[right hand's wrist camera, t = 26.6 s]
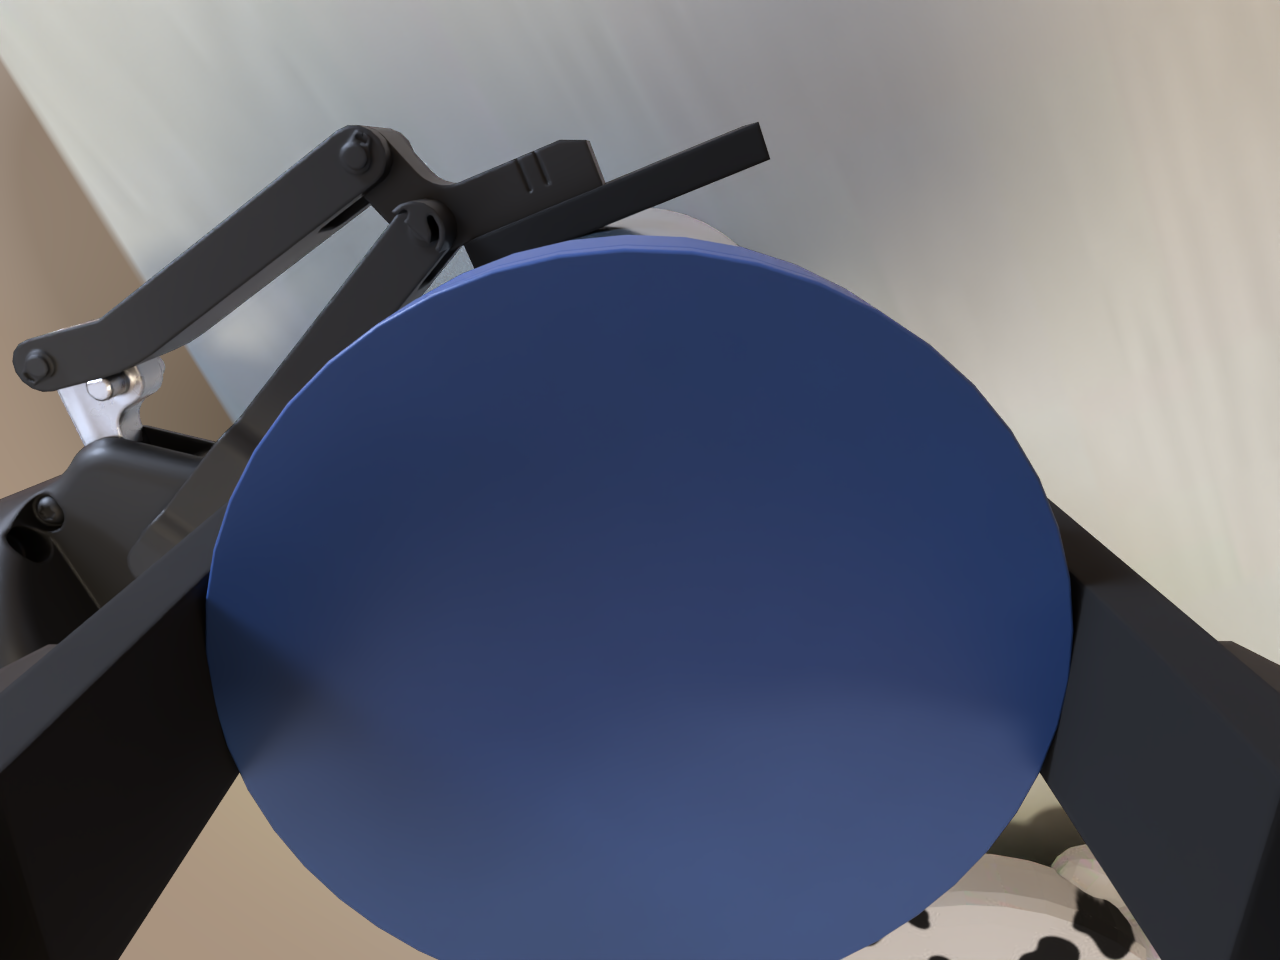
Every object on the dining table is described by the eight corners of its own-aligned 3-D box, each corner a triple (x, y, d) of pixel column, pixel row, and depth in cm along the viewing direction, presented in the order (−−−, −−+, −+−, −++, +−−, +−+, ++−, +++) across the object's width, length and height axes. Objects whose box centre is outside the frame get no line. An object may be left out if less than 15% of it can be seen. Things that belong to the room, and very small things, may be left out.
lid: (1021, 865, 13) (1071, 956, 12) (373, 945, 14) (341, 1043, 12) (1012, 165, 10) (1081, 168, 8) (150, 308, 10) (66, 335, 9)
